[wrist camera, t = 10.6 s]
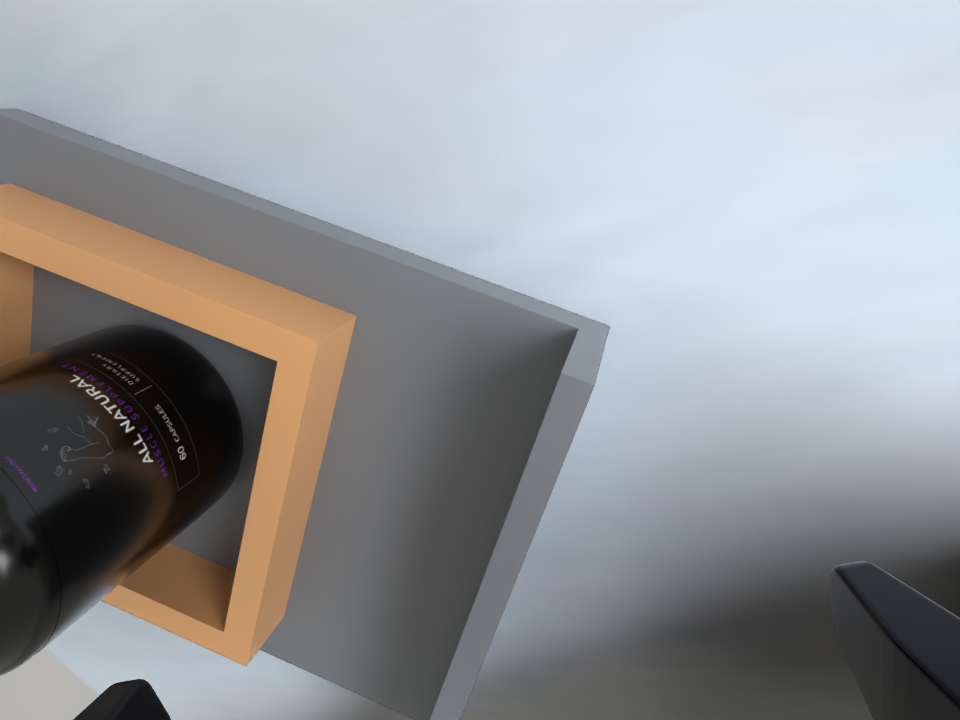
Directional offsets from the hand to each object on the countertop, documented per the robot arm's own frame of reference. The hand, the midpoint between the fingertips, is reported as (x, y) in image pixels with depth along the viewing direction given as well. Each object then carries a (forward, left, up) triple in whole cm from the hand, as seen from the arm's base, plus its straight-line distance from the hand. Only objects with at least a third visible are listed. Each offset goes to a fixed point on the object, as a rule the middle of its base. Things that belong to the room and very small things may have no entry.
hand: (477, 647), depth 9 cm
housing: (+10, +7, -13) cm, 17 cm away
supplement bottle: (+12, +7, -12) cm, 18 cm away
